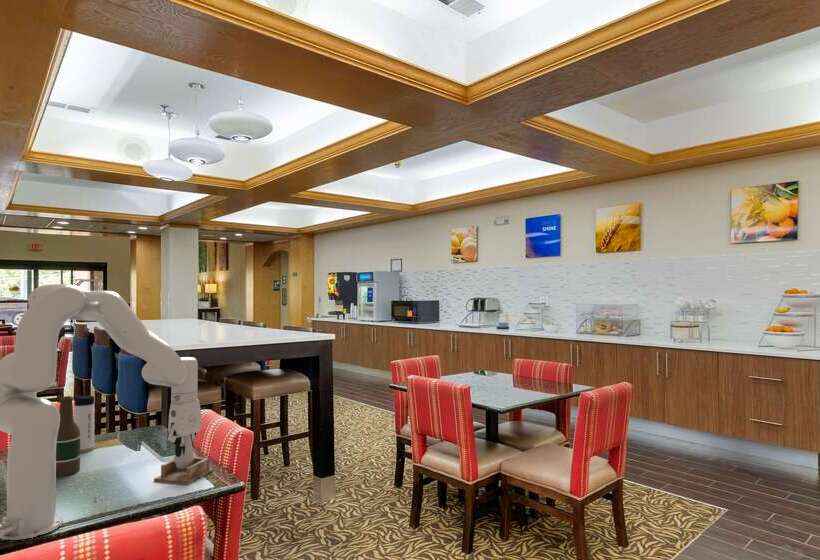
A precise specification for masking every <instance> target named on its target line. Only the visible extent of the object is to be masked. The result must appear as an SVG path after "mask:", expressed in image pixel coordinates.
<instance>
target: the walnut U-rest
mask: <svg viewBox="0 0 820 560" xmlns="http://www.w3.org/2000/svg"><path fill="white" fill-rule="evenodd" d="M210 461H211V459H210V457H209V458H208V457H199V456H194V461H193V463H192V465H191V466H189V467H187V468H184V469H179V468H177V466H176V464H175V462H174V459H172V460H170V461H167V462H164V463H163V464H161V466H160V475H159V476H156V477H155V478H153V482H158V483H166V484H172V485H173V484H175V485H182V484H183V485H184V486H189V485H190V483H191V484H193V483H194V482H196V481H197V479H198V480H200V479H202V478H203V476H204V475H206V474H207V475H209V474H211V473H213V472H214V468H210V464H211V463H210ZM212 471H213V472H212ZM210 472H211V473H210ZM208 473H209V474H208ZM207 475H206V476H207ZM201 477H202V478H201ZM204 477H205V476H204ZM199 478H200V479H199ZM188 484H189V485H188Z"/></svg>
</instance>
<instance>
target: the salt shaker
mask: <svg viewBox="0 0 820 560" xmlns="http://www.w3.org/2000/svg"><path fill="white" fill-rule="evenodd" d="M178 439H179V440H180V438H178ZM183 446H185V454H184V455H183V449H182V452H181V456H180V457H177V456H176V455H175V454H174V458H173V460H174V462H175V464H176V466H177V468H179V469H184V468H187V467H189V466H191V465H192V463H193V461H194V457H195V453H194V446H193V447H192V441H191V436H190V435H188V436H185V437H184V445H183Z"/></svg>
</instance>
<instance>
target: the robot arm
mask: <svg viewBox="0 0 820 560" xmlns="http://www.w3.org/2000/svg"><path fill="white" fill-rule="evenodd" d="M27 304H28V308H27V310H26V311H25V312H24V313H23V315H22V316H21V318H20V319H19V322H18V325H17V327H16V333H15V341H14V351H13V352H11V353H8V354H7V355H4V356H3V357H2V358H1V359H0V431H1V432H2V433H6V434H9V435H11V440H10V444H9V448H8V452H7V460H6V461H7V462H6V463H7V464H6V465H7V466H6V470H7V475H6V480H7V481H6V482H7V483H6V516H3V517H1V522H0V538H2V539H6V540H7V539H9V540H18V539H19V540H20V539H26V538H32V539H34V538H33V537H36V536H37V535H40V534H43V533H47V532H49V531H52V530H54V531H56V530H58V529H59V528H60V527H61V526H62V525H63V524H64V517H63V516H62V515H61V514H58V513H57V512H56V506H57V505H56V503H57V501H56V499H57V498H56V495H57V491H56V489H57V484H56V483H57V482H56V481H57V477H56V442H57V435H58V430H59V425H60V413H59V411H60V409H59V408H58V407H57V406H56V404H55V403H54V402H52V401H50V400H49V399H46V398H42V397H37V396H38V395H37V393H40V392H44V391H46V390H47V389H49V388H50V387H52V385H53V384H54V383H55V380H56V377H57V366H58V365H57V363H58V360H57V359H58V358H57V357H58V343H59V335H60V332H61V330H62V328H63V326H64V324H66V322H68V320H73V321H87V322H88V321H91V322H97V323H98V324H99V325H100V326H101V327H102V328H103V330H104V331H105V332H106V333H107V334H108V335H109V336H110V338H111V339H112V340H113V341H114V343H115V344H116V345H117V346H118V347H119V348H120V349H121V350H124V351H125V352H127V353H128V354H131V355H133V356H135V357H138V358H140V359H142V360H144V361H145V362H146V363H145V364H144V365H143V367H142V369H141V377H142V378H143V380H144V381H145V382H147V383H148V384H150V385H156V386H164V387H168V388H169V387H170V388H171V391H170V392H171V393H170V394H171V396H170V397H171V398H170V402H171V403H170V407H169V413H168V428H167V429H168V438H167V442H171V443H172V444H173V446H174V447H175V448H174V449H175V451H174V456H175V455H176V456H177V457H180V456H181V452H182V449H183V455H184V454H185V446H183V445H184V437H185V436H188V435H190V436H191V441H192V447H193V448H194V442H195V441H196V435H197V434H198V432H200V430H201V429H202V411H201V404H200V400H199V399H198V395H199V394H198V375H199V374H198V369H199V367H198V366H199V364H198V360H197V358H195V357H191V356H181V357H180V356H179V354H178V353H177V352H176V351H175V350H174V349H173V348H172V346H170V345H169V344H168V343H167V342H166V341H164V340H163V339H162V338H160V337H159V336H158V335H157V334H155V333H154V332H152V331H151V330H150V329H148V327H147V326H146V325H145V324H144V323H143V322H142V320H141V319H140V318H139V316H138V315H137V314H136V313H135V312H134V310H133V309H132V308H131V307H130V306H129V304H128V303H127V301H126V300H125V299H124V298H123V297H122V296H121V295H120V294H119V293H117V292H116V291H112V290H84V289H82V288H80V287H79V286H77V285H74V284H68V283H67V284H66V283H64V284H63V283H62V284H61V283H58V284H57V283H56V284H43V285H40V286H38V287H36V288H34V289H33V290H32V291H31V292H30V293H29V296H28V298H27ZM178 438H180V440H179V439H178ZM56 513H57V514H56ZM59 526H60V527H59ZM58 527H59V528H58ZM57 528H58V529H57ZM55 529H56V530H55ZM52 532H53V531H52ZM36 538H37V537H36Z"/></svg>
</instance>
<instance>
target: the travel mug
mask: <svg viewBox="0 0 820 560" xmlns="http://www.w3.org/2000/svg"><path fill="white" fill-rule="evenodd" d="M72 397H73V399H74V406H73V407H74V409H73V418H74V422H75V423H76V424H77V425H78V427H79V429H80V454H82V453H88V452H90V451H93V450H94V449H95V403H96V402H95V396H94V395H90V394H89V395H88V394H83V395H81V394H80V395H76V394H74V395H73V396H72Z"/></svg>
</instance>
